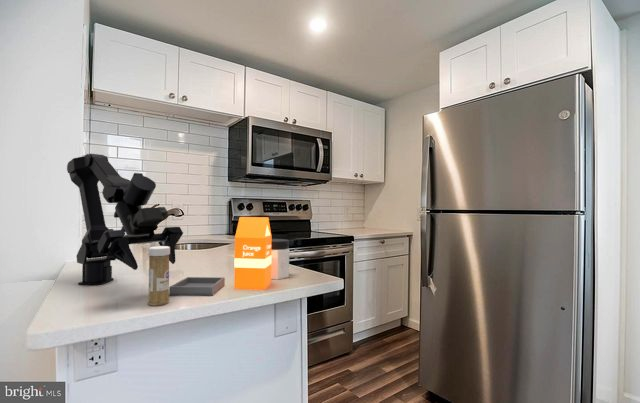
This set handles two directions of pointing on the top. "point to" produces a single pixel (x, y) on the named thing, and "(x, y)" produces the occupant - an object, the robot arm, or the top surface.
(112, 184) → the robot arm
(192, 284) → the tray
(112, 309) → the top surface
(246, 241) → the orange juice
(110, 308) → the top surface
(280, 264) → the jar
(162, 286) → the spice shaker
